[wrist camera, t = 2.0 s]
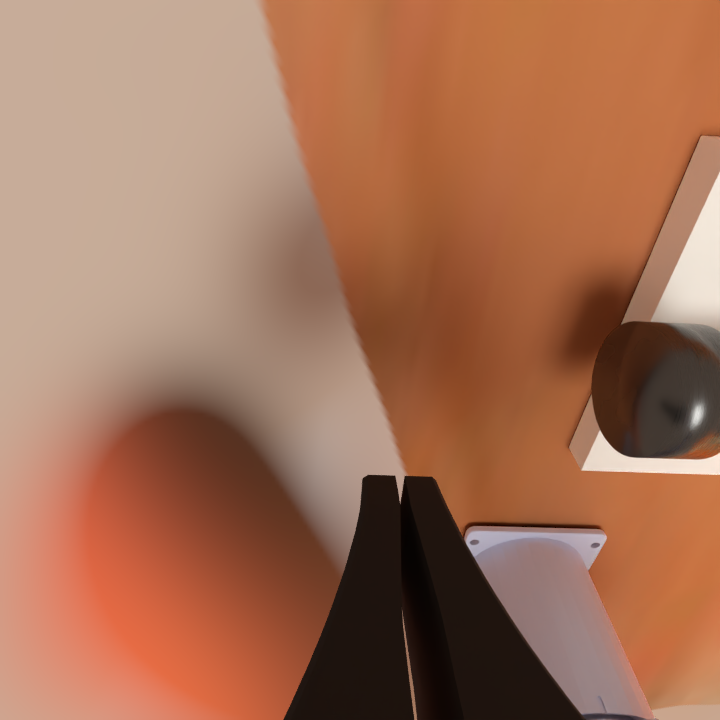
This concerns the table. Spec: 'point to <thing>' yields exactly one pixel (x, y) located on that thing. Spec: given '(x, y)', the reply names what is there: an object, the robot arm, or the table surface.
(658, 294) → the shaft stand
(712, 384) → the shaft
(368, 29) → the table surface
